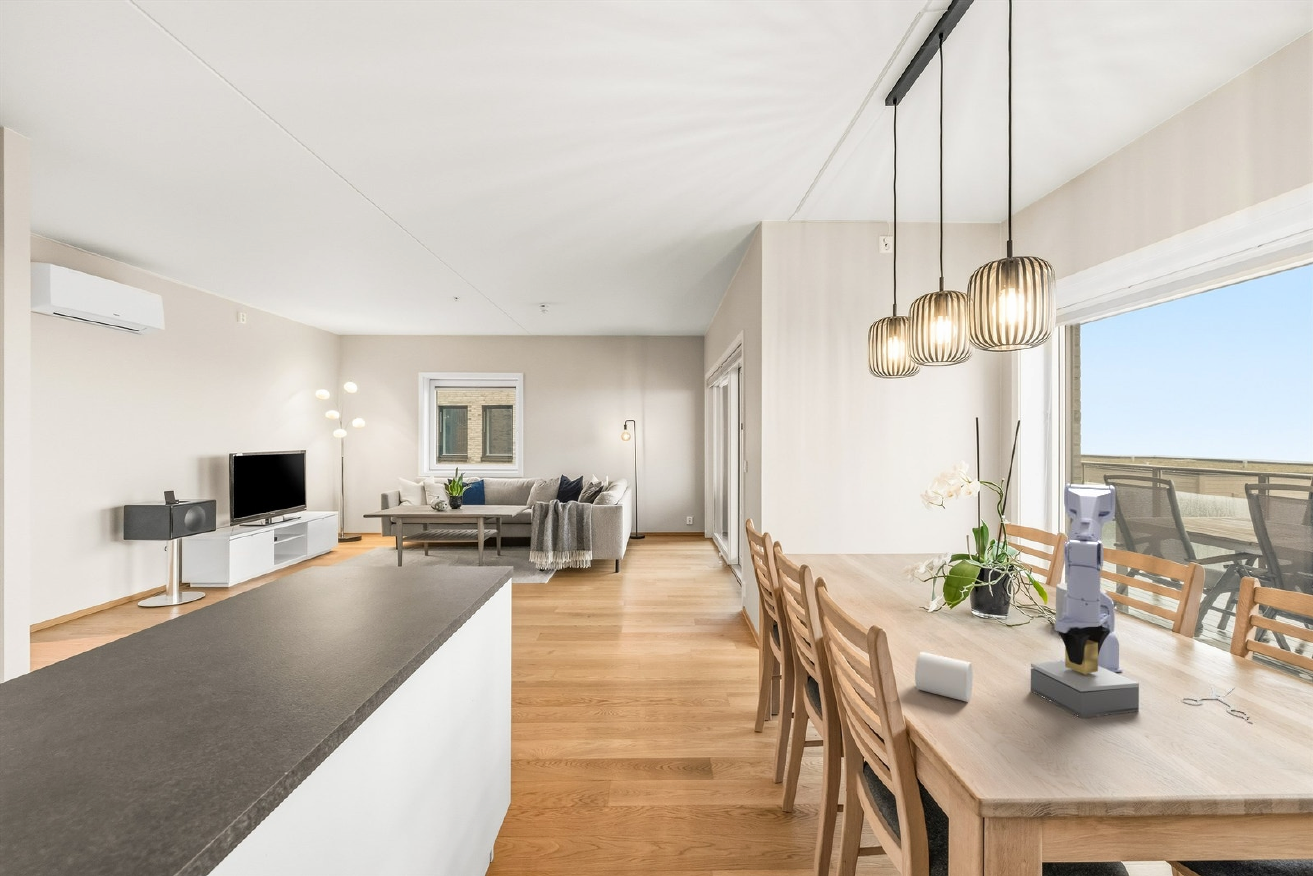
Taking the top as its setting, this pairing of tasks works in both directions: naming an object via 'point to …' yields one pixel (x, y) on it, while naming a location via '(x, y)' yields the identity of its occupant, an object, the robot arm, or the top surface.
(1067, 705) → the box
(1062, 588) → the toilet paper roll
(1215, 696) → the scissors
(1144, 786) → the top surface
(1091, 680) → the lid
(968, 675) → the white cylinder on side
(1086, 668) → the block
